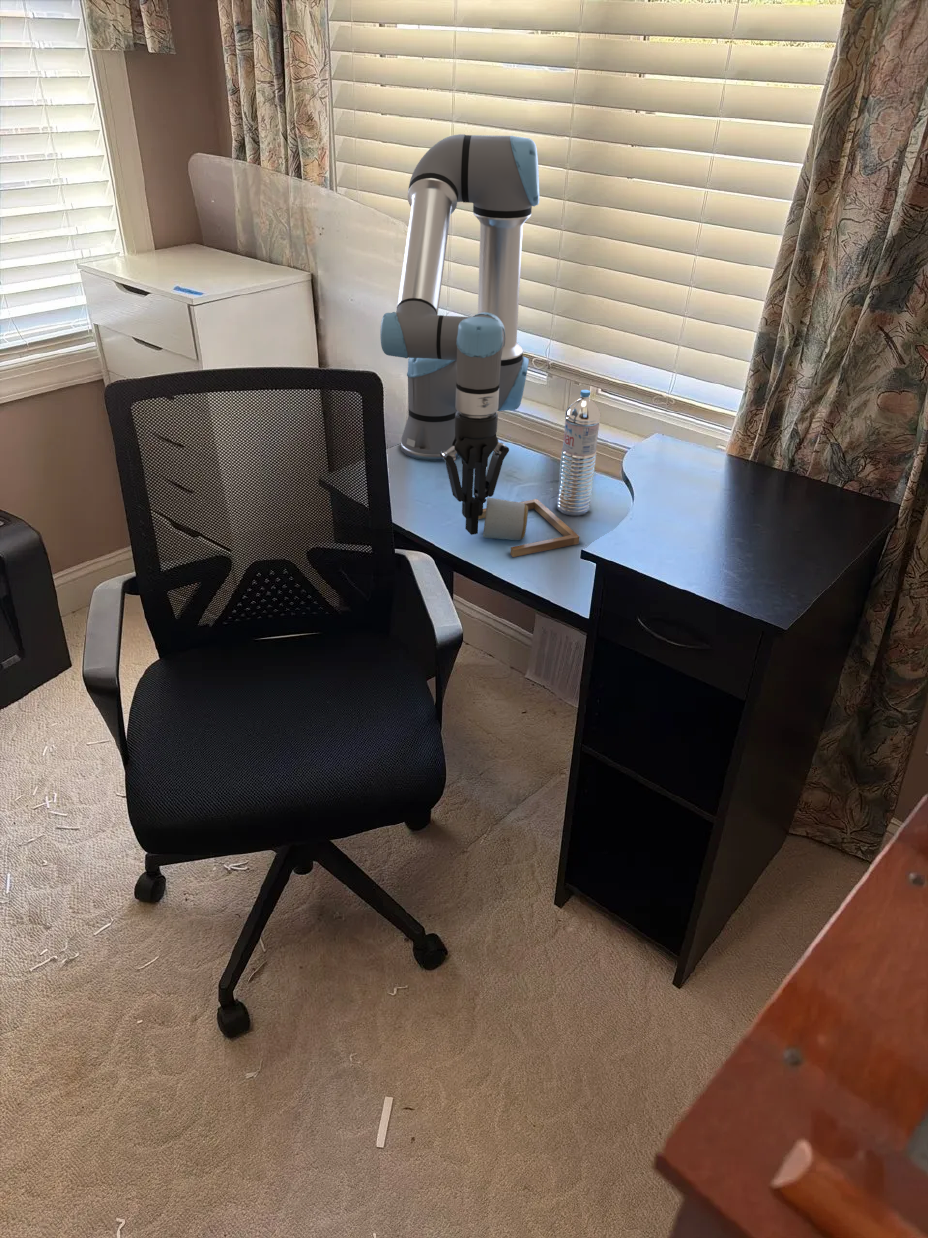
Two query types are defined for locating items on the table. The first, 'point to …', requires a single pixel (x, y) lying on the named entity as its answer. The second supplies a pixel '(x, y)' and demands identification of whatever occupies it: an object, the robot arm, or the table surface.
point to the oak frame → (530, 548)
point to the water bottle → (578, 456)
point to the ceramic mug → (505, 519)
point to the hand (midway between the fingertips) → (471, 531)
